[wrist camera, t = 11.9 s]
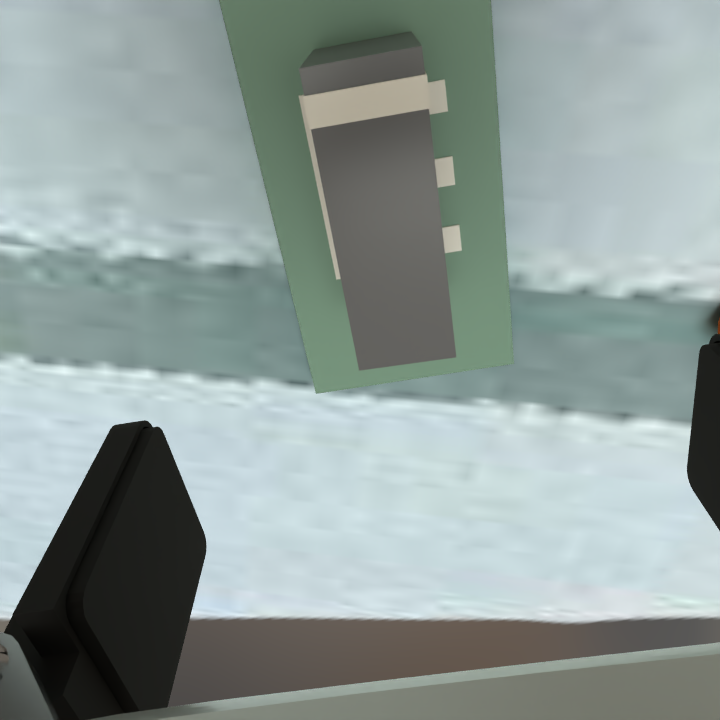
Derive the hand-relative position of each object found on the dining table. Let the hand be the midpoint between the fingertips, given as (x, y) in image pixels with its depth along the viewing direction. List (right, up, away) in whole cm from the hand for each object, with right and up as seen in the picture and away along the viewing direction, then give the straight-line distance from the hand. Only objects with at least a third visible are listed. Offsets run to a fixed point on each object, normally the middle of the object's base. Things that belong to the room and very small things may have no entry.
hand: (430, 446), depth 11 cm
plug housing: (0, +9, +16) cm, 19 cm away
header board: (0, +10, +18) cm, 20 cm away
